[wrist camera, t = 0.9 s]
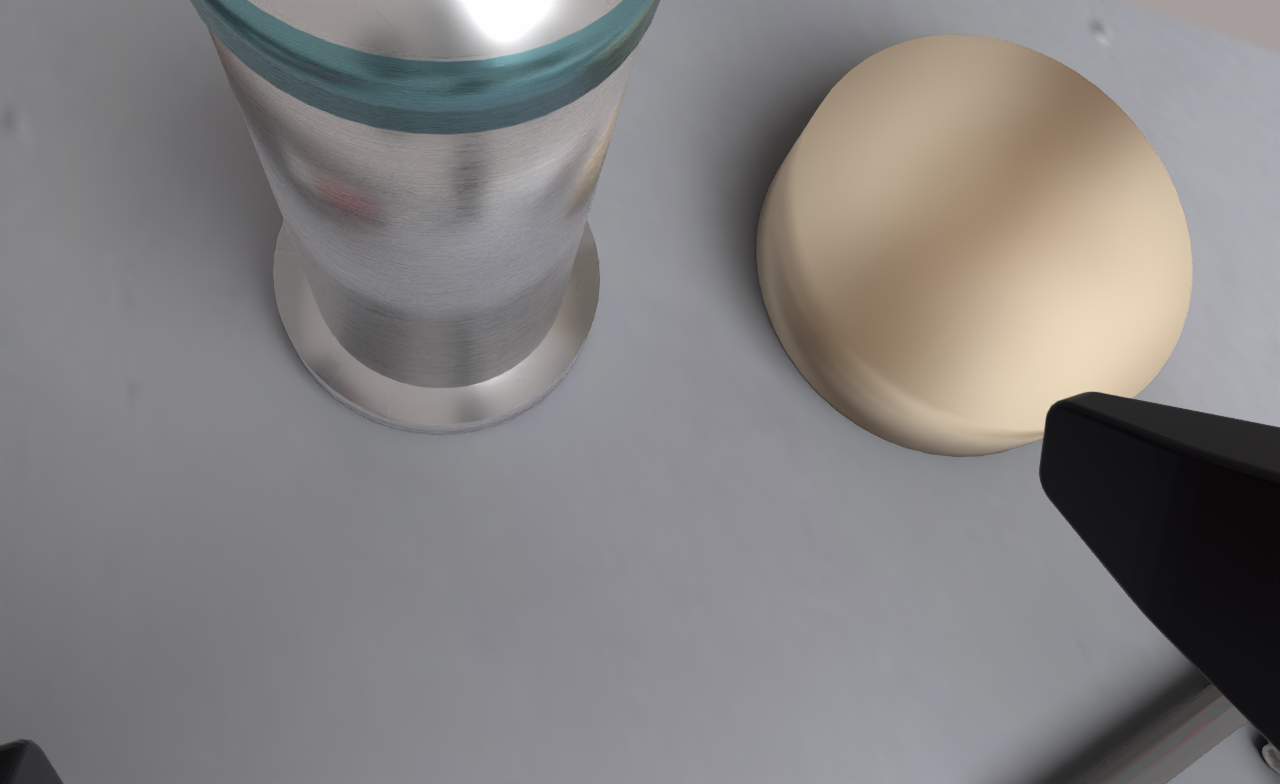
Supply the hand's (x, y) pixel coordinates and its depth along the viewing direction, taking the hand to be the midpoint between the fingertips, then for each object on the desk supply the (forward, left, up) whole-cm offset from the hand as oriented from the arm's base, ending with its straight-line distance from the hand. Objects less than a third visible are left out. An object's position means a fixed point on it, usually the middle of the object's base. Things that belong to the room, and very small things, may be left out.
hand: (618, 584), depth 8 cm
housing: (+7, -4, -13) cm, 15 cm away
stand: (-1, -14, -13) cm, 19 cm away
